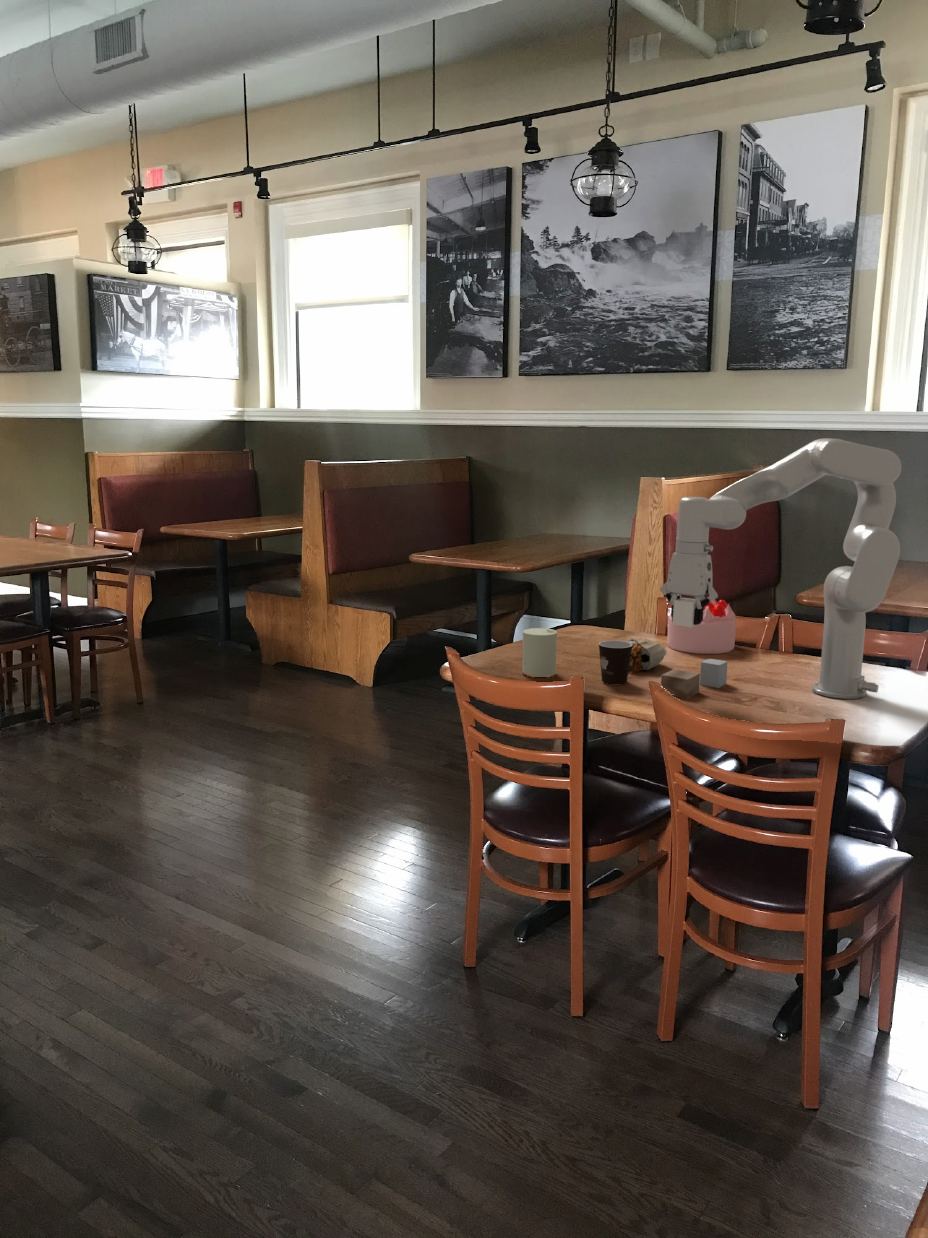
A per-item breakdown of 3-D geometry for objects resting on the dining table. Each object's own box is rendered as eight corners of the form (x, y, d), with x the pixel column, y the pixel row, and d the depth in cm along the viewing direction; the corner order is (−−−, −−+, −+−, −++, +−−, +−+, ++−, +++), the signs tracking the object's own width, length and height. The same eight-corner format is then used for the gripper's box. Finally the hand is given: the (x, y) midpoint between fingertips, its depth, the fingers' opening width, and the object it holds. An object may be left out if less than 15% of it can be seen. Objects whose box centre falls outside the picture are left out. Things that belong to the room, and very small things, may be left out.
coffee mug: (594, 677, 255) (595, 640, 253) (626, 677, 256) (628, 640, 254) (603, 689, 244) (605, 650, 242) (637, 689, 244) (639, 650, 242)
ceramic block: (700, 624, 238) (701, 600, 237) (691, 627, 234) (693, 602, 233) (681, 621, 241) (682, 597, 240) (672, 624, 237) (674, 600, 236)
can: (558, 678, 255) (559, 633, 253) (522, 677, 255) (523, 633, 253) (554, 669, 264) (555, 626, 262) (520, 669, 264) (521, 626, 262)
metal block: (698, 693, 242) (699, 673, 241) (686, 699, 236) (687, 679, 235) (672, 688, 246) (673, 669, 245) (660, 694, 241) (661, 674, 240)
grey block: (726, 684, 250) (727, 661, 249) (718, 688, 246) (719, 665, 245) (708, 680, 253) (709, 658, 252) (699, 684, 249) (700, 662, 248)
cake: (655, 648, 290) (657, 601, 287) (686, 637, 305) (688, 592, 302) (716, 658, 277) (718, 609, 275) (745, 646, 292) (748, 599, 290)
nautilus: (643, 683, 252) (592, 677, 261) (677, 662, 269) (628, 657, 278) (642, 653, 251) (590, 648, 260) (676, 634, 268) (627, 630, 276)
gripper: (731, 550, 232) (725, 625, 235) (666, 543, 242) (661, 615, 245) (718, 553, 226) (713, 629, 229) (652, 546, 236) (647, 619, 239)
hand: (686, 621), depth 237 cm, fingers closed on ceramic block, 5 cm apart
